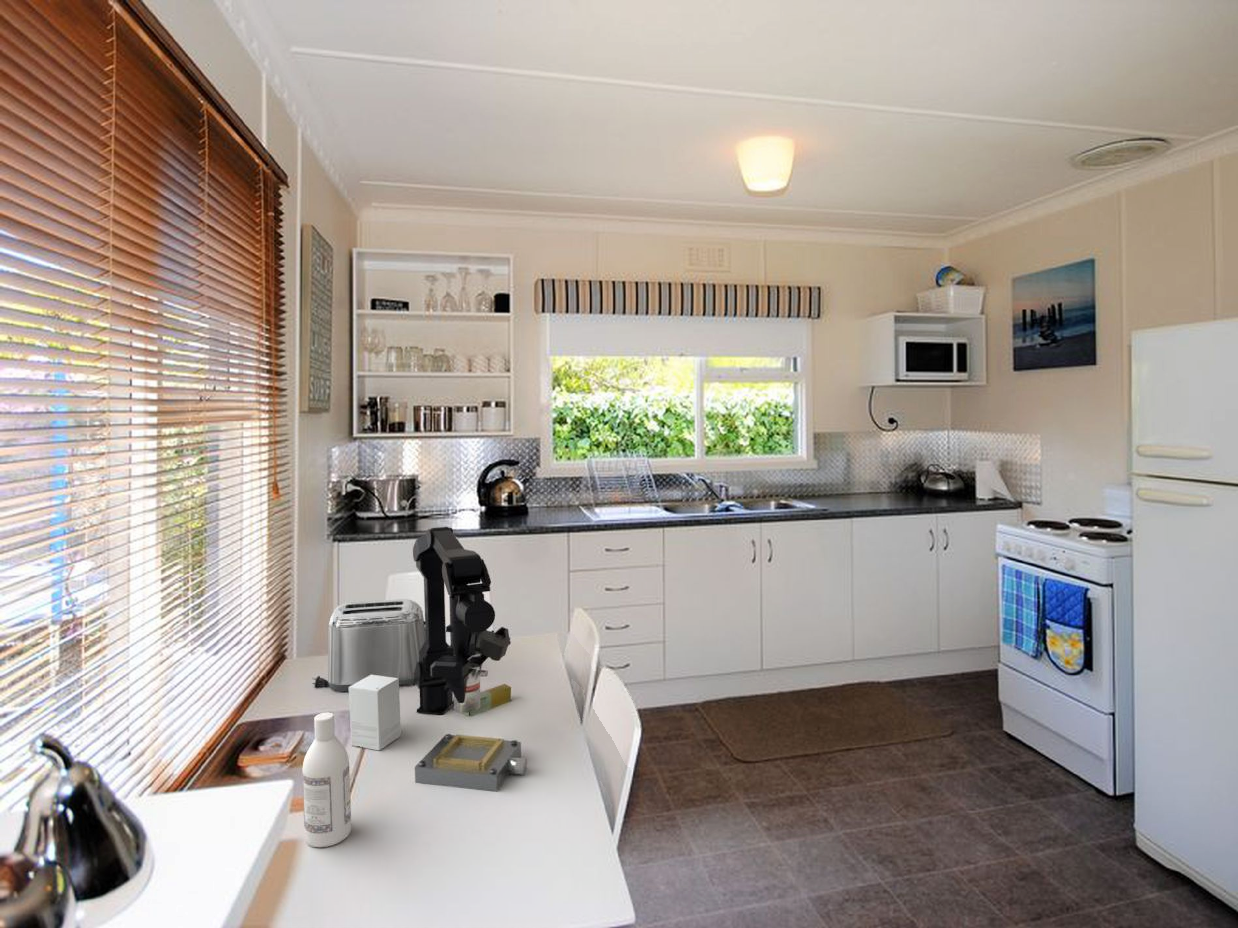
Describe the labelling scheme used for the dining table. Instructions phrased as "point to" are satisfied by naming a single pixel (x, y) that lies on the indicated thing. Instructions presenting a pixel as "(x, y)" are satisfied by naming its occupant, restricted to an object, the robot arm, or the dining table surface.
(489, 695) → the medication box
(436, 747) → the grey fixture base
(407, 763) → the dining table surface
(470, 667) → the spout can
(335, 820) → the bath foam
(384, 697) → the supplement box
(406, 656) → the toaster
